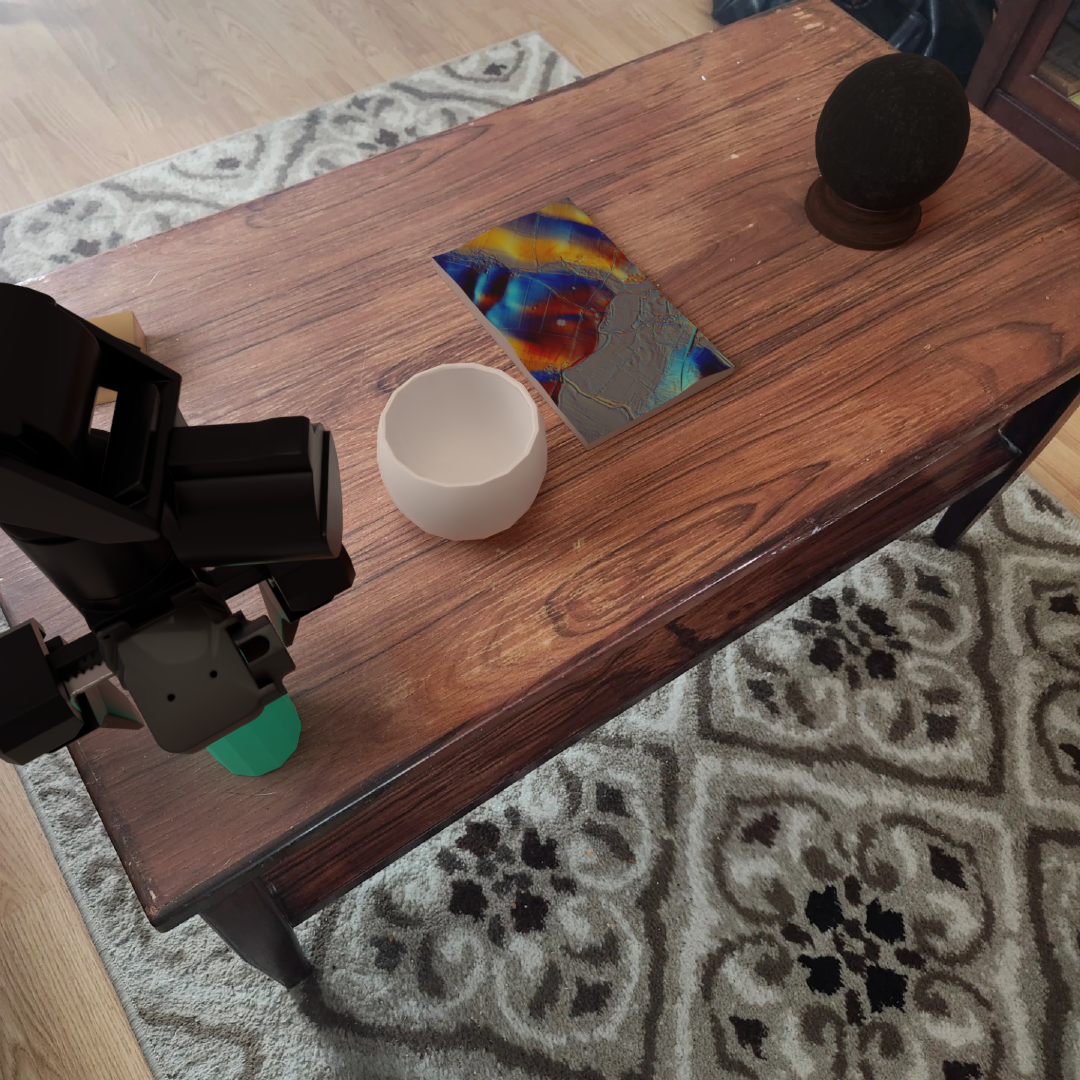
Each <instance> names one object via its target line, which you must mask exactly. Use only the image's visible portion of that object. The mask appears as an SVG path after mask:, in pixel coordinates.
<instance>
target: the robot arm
mask: <svg viewBox="0 0 1080 1080" xmlns="http://www.w3.org/2000/svg"><path fill="white" fill-rule="evenodd" d="M85 319H86V318H83V317H82V316H80V315H79V314H76V313H75V312H73V311H71V310H70V309H68V308H67V307H64V306H63V305H61V304H59V303H58V302H57V301H56V299H55V298H54V297H53V296H52V295H50V294H48V293H45V292H43V291H39V290H37V289H34V288H31V287H29V286H24V285H19V284H15V283H10V282H3V281H0V529H1V530H2V531H3V532H4V533H5V534H6V535H7V537H8V538H9V539H10V540H11V541H12V542H13V543H14V544H15V545H16V546H17V547H18V548H19V550H20V551H21V552H23V553H24V555H25V556H26V557H27V558H28V559H29V560H30V562H32V563H33V565H35V567H36V568H37V569H38V570H39V571H40V572H41V573H42V574H43V575H44V577H46V578H47V579H48V581H50V583H51V584H52V585H53V586H54V587H55V589H57V590H58V591H59V593H61V594H62V596H63V597H64V598H65V599H66V600H67V601H68V602H69V603H70V604H71V605H72V606H73V608H75V609H76V611H77V612H78V613H79V614H80V615H81V616H82V617H83V618H84V621H85V623H86V624H87V628H88V629H89V632H88V633H86V634H84V635H81V636H80V637H77V638H76V639H74V640H72V641H70V642H68V641H67V640H66V639H64V638H63V637H62V635H60V634H58V635H55V636H54V637H52V638H50V639H47V640H46V641H45V638H46V637H47V633H46V631H45V628H44V626H43V625H42V624H41V623H40V622H39V621H38V620H37V619H36V618H35V617H30V618H28V619H25V620H24V621H22V622H20V623H18V624H16V625H14V626H12V627H10V628H8V629H6V630H4V631H2V632H0V760H2V761H4V762H5V763H7V764H11V765H14V766H15V765H16V766H20V767H23V766H25V765H27V764H29V763H31V762H32V761H34V760H36V759H38V758H40V757H42V756H44V755H45V754H46V755H49V754H50V755H51V754H54V753H56V752H58V751H60V750H62V749H63V748H66V747H67V746H69V745H71V744H73V743H75V742H76V741H78V740H79V739H83V738H84V737H85V736H87V735H90V734H91V733H93V732H94V731H97V730H98V729H115V730H130V731H131V730H133V731H134V730H135V731H139V730H141V729H143V728H144V727H146V726H147V728H148V729H149V732H150V733H151V735H152V737H153V739H154V741H155V743H156V744H157V745H158V747H160V749H162V751H165V752H167V753H170V754H177V755H193V754H196V753H199V752H201V751H202V750H204V749H206V747H208V746H209V745H210V744H212V743H214V742H216V741H217V740H219V739H221V738H223V737H224V736H226V735H228V734H230V733H231V732H233V731H235V730H237V729H238V728H240V727H242V726H244V725H246V724H248V723H250V722H251V721H253V720H255V719H256V718H257V717H259V716H260V714H261V713H262V712H263V710H264V708H265V706H266V705H268V704H270V703H272V702H273V701H275V700H277V699H279V698H280V697H282V696H284V695H286V694H289V692H288V690H287V688H286V687H285V685H284V682H283V681H284V678H285V677H286V676H288V675H290V674H291V673H293V672H294V671H296V669H297V666H296V664H295V662H294V660H293V658H292V656H291V654H290V652H289V651H288V649H287V648H289V647H291V646H293V644H294V641H295V638H296V635H297V631H298V629H299V624H300V621H301V619H302V618H304V617H305V616H307V615H310V614H311V613H313V612H315V611H317V610H318V609H321V608H322V607H324V606H326V605H328V604H330V603H331V602H332V601H333V600H334V599H335V597H336V596H338V595H340V594H342V593H344V592H346V591H347V590H349V589H351V588H352V587H353V584H354V582H355V578H356V577H357V572H356V570H355V567H354V563H353V561H352V558H351V555H350V554H349V553H348V551H347V548H346V547H345V545H344V543H343V531H344V509H343V508H344V505H343V489H342V480H341V472H340V464H339V459H338V454H337V448H336V445H335V440H334V436H333V432H332V430H330V429H329V430H326V428H325V426H324V424H322V423H321V422H311V420H310V417H308V416H305V415H290V416H277V417H276V416H275V417H270V418H266V419H262V420H258V421H257V420H255V421H248V422H247V421H246V422H230V423H215V424H200V425H188V422H187V421H186V419H185V417H184V415H183V413H182V411H181V410H180V409H181V408H180V399H181V398H180V397H181V391H182V384H183V375H181V374H180V373H179V372H177V371H176V370H175V369H172V368H171V367H169V366H167V365H166V364H164V363H162V362H161V361H158V360H157V359H155V358H154V357H151V356H150V355H148V354H147V355H146V354H144V353H143V352H141V351H140V350H141V347H138V346H136V345H134V344H131V343H129V342H127V341H124V340H122V339H120V338H117V337H115V336H113V335H111V334H110V333H108V332H106V331H104V330H103V329H101V328H99V327H98V326H96V325H94V324H92V323H91V322H89V321H87V320H85ZM99 387H102V388H106V389H109V390H112V391H116V392H117V397H116V401H114V402H115V404H114V408H113V415H112V420H111V422H110V423H111V424H110V429H109V430H105V429H100V428H96V427H92V425H93V420H94V417H95V416H94V414H95V411H96V406H97V405H96V401H97V397H98V392H99ZM254 586H255V587H256V586H258V589H259V591H260V594H261V597H262V600H263V603H264V606H265V609H266V612H267V614H262V615H260V616H258V617H256V618H255V619H252V620H250V619H247V617H246V615H245V614H244V612H243V610H242V609H238V610H236V611H235V612H233V611H232V609H231V608H230V606H229V604H228V602H227V601H228V600H230V599H232V598H233V597H236V596H238V595H239V594H241V593H243V592H245V591H247V590H249V589H251V588H253V587H254ZM242 653H243V654H242ZM243 655H244V656H243ZM244 657H245V658H244ZM247 662H248V663H247ZM113 677H116V678H117V679H118V682H119V684H120V686H121V689H123V690H124V691H127V692H128V693H129V695H130V697H131V698H132V701H133V702H134V704H133V703H132V702H131V700H130V699H129V697H128V696H127V695H126V694H125V693H123V692H122V690H121V689H119V688H118V687H117V686H116V685H115V684H114V683H112V681H111V680H109V679H111V678H113ZM135 705H136V706H135ZM136 707H137V708H136Z"/></svg>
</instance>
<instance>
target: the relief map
mask: <svg viewBox="0 0 1080 1080" xmlns="http://www.w3.org/2000/svg"><path fill="white" fill-rule="evenodd" d="M431 262H432V263H431V264H432V268H433V269H434V271H435V272H436V273H437V275H439V276H440V278H441V279H442V280H443V281H444V283H446V285H447V286H448V287H449V289H450V290H451V291H452V292H453V294H454V295H455V296H456V297H457V298H458V299H459V300H460V301H461V303H462V304H463V305H464V306H465V308H467V310H468V311H469V312H470V313H471V314H472V315H473V317H474V318H475V319H476V320H477V321H478V323H479V324H480V325H481V326H482V328H483V329H484V330H485V331H486V332H487V334H489V336H490V337H491V338H492V339H493V340H494V342H495V343H496V344H497V345H498V346H499V347H500V348H501V350H502V351H503V352H504V353H505V355H506V356H507V357H508V358H509V359H510V360H511V362H512V363H513V364H514V365H515V367H516V368H517V369H518V370H519V371H520V373H521V374H522V375H523V376H524V377H525V378H526V379H527V381H528V382H529V383H530V384H531V385H532V387H533V388H534V389H535V390H536V391H537V392H538V393H539V394H540V396H541V397H542V398H543V399H544V401H545V402H546V403H547V404H548V405H549V407H550V408H551V409H552V410H553V412H555V414H556V415H557V416H558V417H559V418H560V419H561V421H562V422H563V423H564V424H565V425H566V427H567V428H568V429H569V430H570V432H571V433H572V434H573V435H574V436H575V437H576V439H577V440H578V441H579V442H580V443H581V445H583V447H584V448H585V449H586V450H587V451H590V450H592V449H594V448H596V447H598V446H599V445H601V444H603V443H605V442H607V441H609V440H611V439H613V438H615V437H617V436H618V435H620V434H622V433H624V432H625V431H627V430H629V429H631V428H634V427H635V426H637V425H639V424H641V423H643V422H645V421H646V420H648V419H650V418H652V417H654V416H656V415H657V414H659V413H661V412H663V411H665V410H667V409H669V408H671V407H673V406H675V405H676V404H678V403H680V402H682V401H684V400H685V399H688V398H690V397H691V396H693V395H695V394H697V393H699V392H701V391H703V390H705V389H707V388H709V387H710V386H712V385H714V384H715V383H718V382H720V381H721V380H723V379H726V378H727V377H729V376H732V375H733V374H734V370H735V367H736V365H734V364H733V362H732V361H731V360H730V359H728V357H726V356H725V354H723V353H722V352H721V350H719V349H718V348H717V346H715V345H714V344H713V343H712V342H711V341H710V340H709V339H708V338H707V337H706V336H705V335H704V334H703V333H702V331H700V330H699V328H698V327H697V326H695V325H694V324H693V323H692V322H691V321H690V320H689V319H688V318H687V317H686V316H685V315H684V314H683V313H681V311H679V309H678V308H676V307H675V306H674V305H673V304H672V303H671V302H670V300H668V299H667V298H666V296H665V295H664V294H662V293H661V291H660V290H658V289H657V287H655V286H654V285H653V284H652V283H651V281H649V279H647V277H646V275H644V273H643V272H642V271H641V270H640V269H639V268H637V266H635V264H633V262H632V261H630V260H629V258H628V257H627V256H626V255H625V253H624V252H622V250H621V248H620V247H618V246H617V244H615V242H614V241H613V240H612V239H611V238H609V236H608V235H606V234H605V233H604V232H603V231H601V230H600V229H599V228H597V226H596V225H595V224H594V223H593V221H592V220H591V218H590V217H589V216H588V215H587V214H586V213H585V212H584V211H583V210H582V209H581V208H580V207H579V206H578V205H577V204H576V203H575V202H574V201H573V200H572V199H571V198H570V196H569V197H565V198H563V199H560V200H558V201H555V202H553V203H551V204H549V205H546V206H545V207H542V208H541V209H539V210H536V211H533V212H531V213H528V214H524V215H522V216H519V217H516V218H514V219H511V220H508V221H506V222H503V223H501V224H499V225H496V226H494V227H492V228H490V229H488V230H487V231H485V232H483V233H481V234H480V235H478V236H477V237H476V238H474V239H472V240H470V241H468V242H466V243H463V245H460V246H458V247H456V248H454V249H452V250H450V251H447V252H444V253H441V254H438V255H434V256H431Z"/></svg>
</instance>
